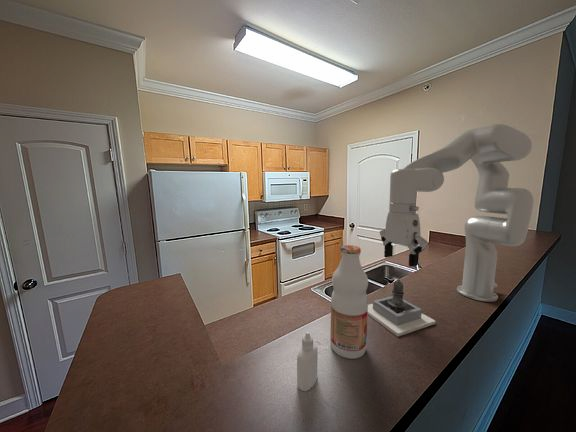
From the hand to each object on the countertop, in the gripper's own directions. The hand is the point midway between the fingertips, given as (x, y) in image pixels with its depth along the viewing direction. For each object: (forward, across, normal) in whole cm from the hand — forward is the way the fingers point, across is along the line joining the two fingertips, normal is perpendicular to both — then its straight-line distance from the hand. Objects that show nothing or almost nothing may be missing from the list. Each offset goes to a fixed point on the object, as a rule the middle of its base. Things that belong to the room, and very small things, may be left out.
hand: (400, 260), depth 74 cm
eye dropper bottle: (+19, -12, +40) cm, 46 cm away
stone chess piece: (+18, 0, +1) cm, 18 cm away
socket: (+19, 0, +1) cm, 19 cm away
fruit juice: (+19, -6, +25) cm, 32 cm away
